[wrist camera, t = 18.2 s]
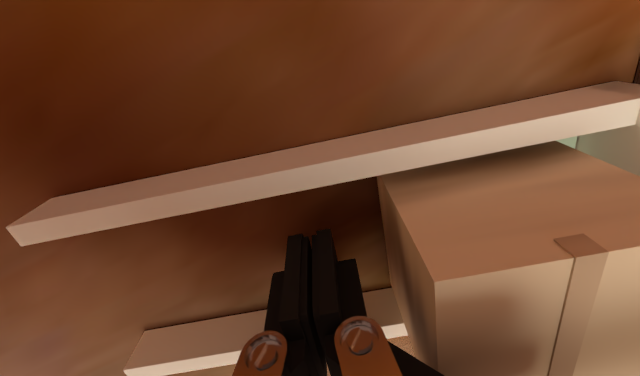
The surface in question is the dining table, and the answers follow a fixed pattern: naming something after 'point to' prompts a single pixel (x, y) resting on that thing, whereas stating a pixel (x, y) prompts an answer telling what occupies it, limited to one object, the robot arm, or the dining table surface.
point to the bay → (327, 169)
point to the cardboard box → (517, 263)
